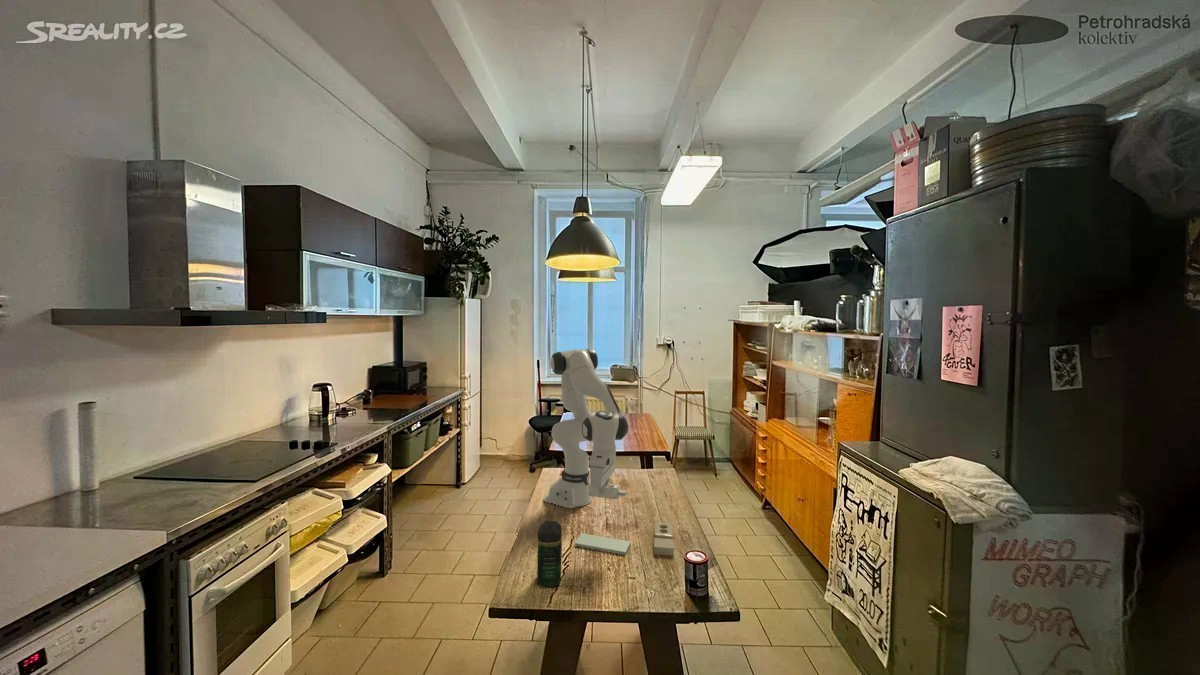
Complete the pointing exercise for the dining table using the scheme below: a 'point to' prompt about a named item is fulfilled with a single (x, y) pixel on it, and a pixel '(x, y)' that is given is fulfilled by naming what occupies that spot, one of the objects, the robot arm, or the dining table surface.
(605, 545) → the sage board
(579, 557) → the dining table surface
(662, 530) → the electrical outlet
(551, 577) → the coffee jar
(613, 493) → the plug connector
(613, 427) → the robot arm
